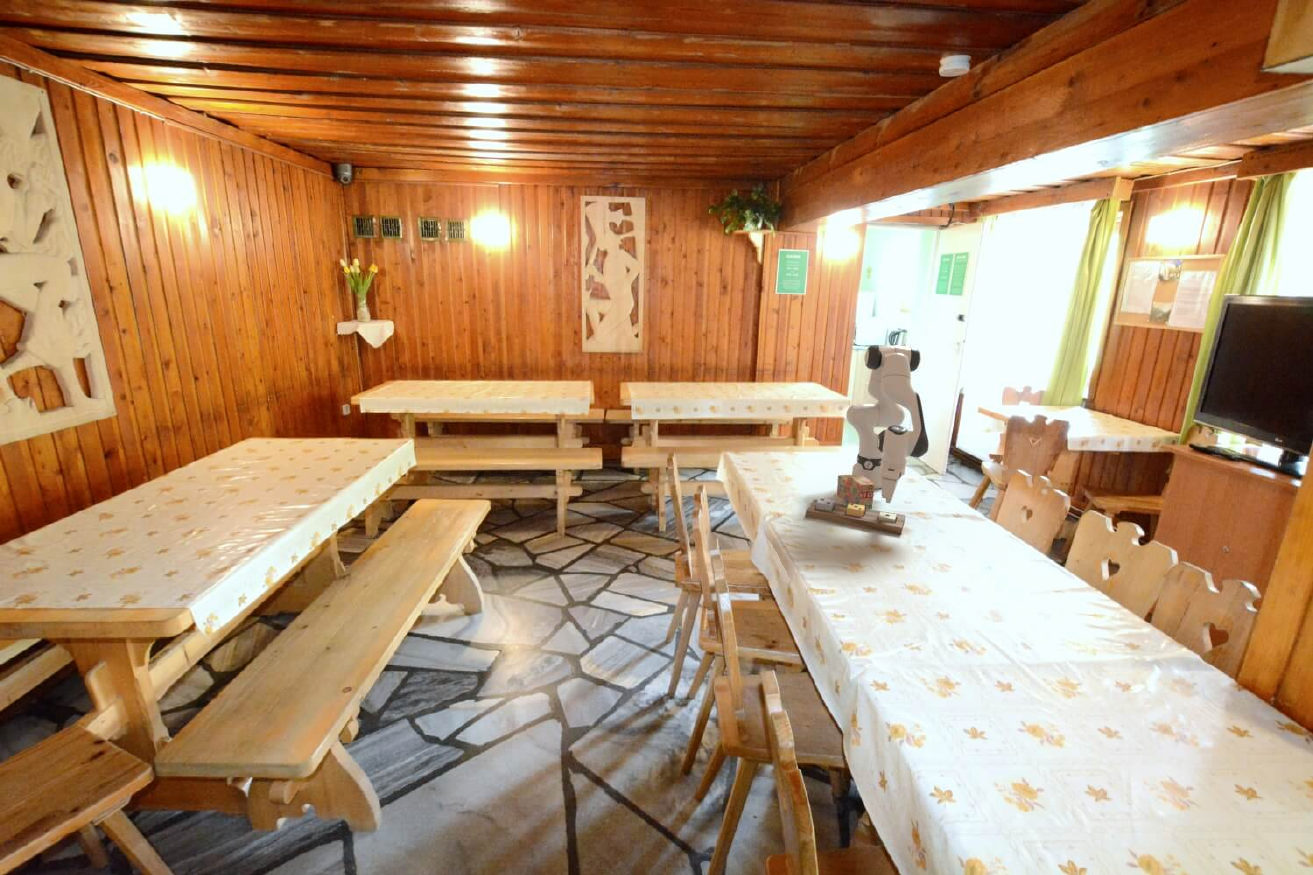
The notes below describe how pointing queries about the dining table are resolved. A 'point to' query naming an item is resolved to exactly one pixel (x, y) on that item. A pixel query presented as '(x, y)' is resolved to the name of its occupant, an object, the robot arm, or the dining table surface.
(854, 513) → the button three
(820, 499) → the button two
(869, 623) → the dining table surface
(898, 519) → the console
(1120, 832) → the dining table surface
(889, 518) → the button one
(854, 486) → the stack of blocks
